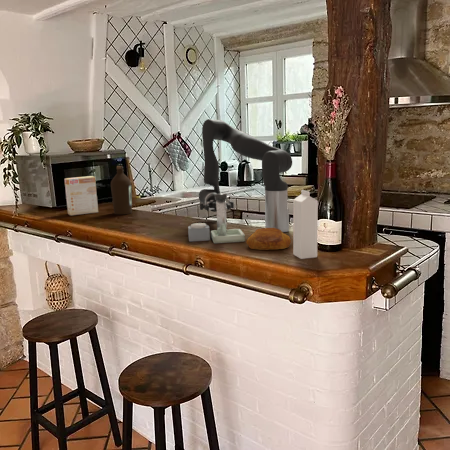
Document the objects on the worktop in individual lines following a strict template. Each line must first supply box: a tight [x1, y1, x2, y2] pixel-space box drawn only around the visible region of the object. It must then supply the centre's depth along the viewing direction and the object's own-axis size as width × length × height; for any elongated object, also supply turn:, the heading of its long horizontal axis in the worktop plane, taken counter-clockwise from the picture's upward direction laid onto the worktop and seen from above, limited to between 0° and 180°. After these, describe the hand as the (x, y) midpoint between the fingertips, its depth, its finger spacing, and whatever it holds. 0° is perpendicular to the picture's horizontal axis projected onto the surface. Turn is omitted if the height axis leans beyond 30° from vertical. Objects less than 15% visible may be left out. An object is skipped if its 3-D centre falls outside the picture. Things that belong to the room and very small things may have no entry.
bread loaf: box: [245, 227, 292, 251], centre depth 169 cm, size 15×16×8 cm
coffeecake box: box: [64, 175, 99, 216], centre depth 251 cm, size 15×7×20 cm, turn 121°
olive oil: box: [110, 165, 133, 216], centre depth 246 cm, size 11×11×25 cm
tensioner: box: [187, 222, 211, 242], centre depth 187 cm, size 8×14×6 cm, turn 8°
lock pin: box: [215, 192, 228, 236], centre depth 181 cm, size 5×5×17 cm
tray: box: [209, 228, 246, 244], centre depth 183 cm, size 12×12×2 cm
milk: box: [292, 189, 319, 260], centre depth 154 cm, size 6×6×22 cm
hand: (218, 207), depth 190 cm, fingers open, 8 cm apart
